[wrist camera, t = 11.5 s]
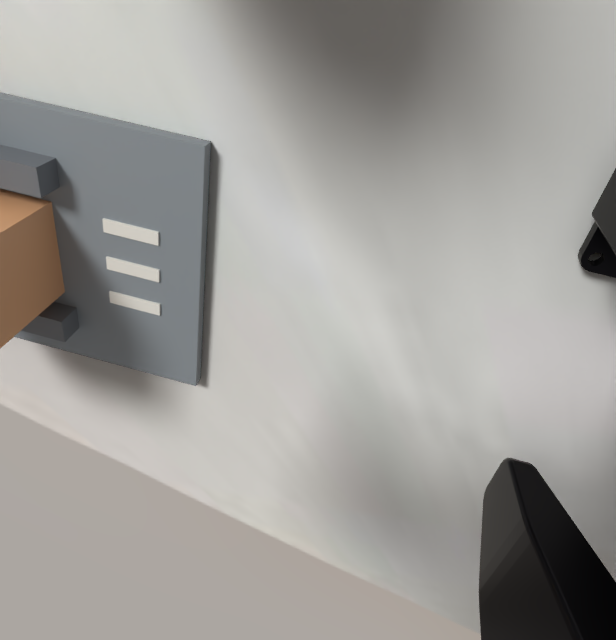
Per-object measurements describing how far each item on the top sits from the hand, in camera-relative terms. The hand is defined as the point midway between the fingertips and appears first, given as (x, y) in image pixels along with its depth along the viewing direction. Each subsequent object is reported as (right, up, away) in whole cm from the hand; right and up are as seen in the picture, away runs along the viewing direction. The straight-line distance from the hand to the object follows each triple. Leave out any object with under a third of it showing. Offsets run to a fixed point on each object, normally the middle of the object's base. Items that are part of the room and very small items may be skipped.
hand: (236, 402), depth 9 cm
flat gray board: (-10, +5, +14) cm, 18 cm away
